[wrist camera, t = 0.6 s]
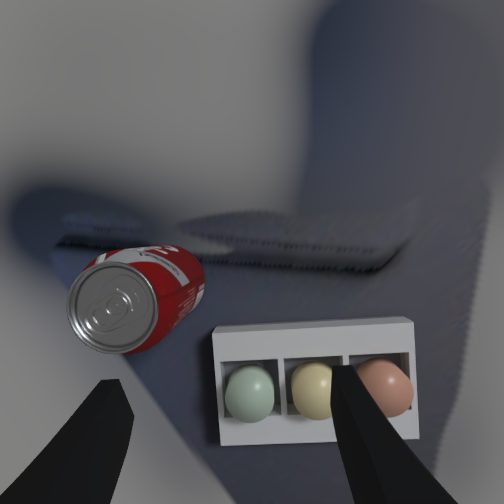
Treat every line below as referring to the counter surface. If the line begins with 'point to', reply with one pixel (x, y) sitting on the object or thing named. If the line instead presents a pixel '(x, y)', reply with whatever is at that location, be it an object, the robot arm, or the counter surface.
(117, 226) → the counter surface
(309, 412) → the mustard button
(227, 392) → the sage button
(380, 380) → the terracotta button
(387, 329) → the console
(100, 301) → the soda can
